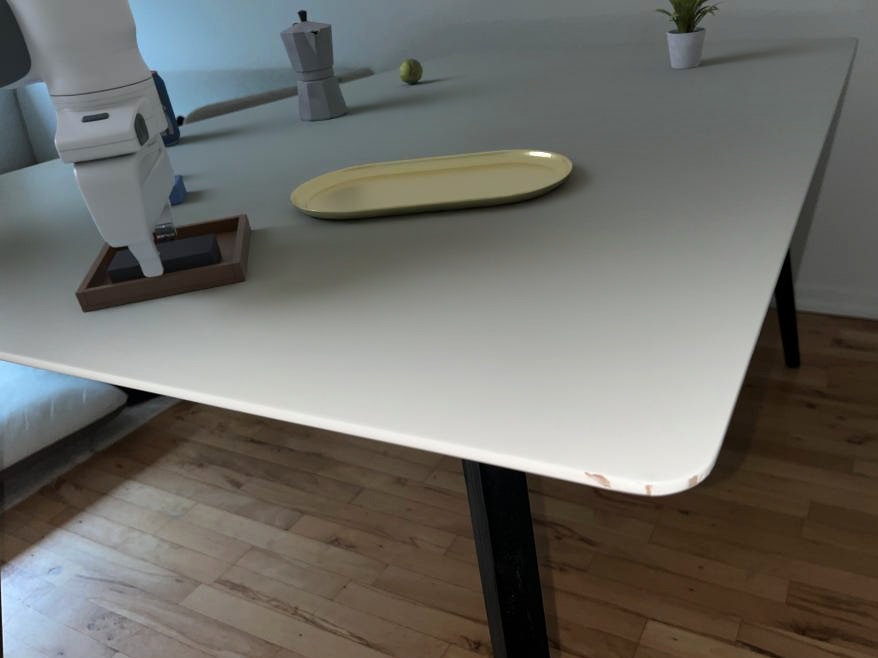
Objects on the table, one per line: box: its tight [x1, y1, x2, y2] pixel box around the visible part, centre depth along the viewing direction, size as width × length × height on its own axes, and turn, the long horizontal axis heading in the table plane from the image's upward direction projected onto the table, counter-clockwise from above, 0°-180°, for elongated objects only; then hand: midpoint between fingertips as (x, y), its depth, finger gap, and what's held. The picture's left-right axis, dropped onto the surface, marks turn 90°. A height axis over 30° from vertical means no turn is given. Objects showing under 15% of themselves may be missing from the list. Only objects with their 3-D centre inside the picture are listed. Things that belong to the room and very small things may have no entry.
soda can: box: [150, 70, 181, 148], centre depth 130 cm, size 7×7×12 cm
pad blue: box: [169, 174, 187, 206], centre depth 101 cm, size 10×6×2 cm, turn 103°
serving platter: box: [289, 148, 574, 220], centre depth 92 cm, size 19×35×2 cm, turn 88°
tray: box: [74, 213, 252, 313], centre depth 79 cm, size 16×16×2 cm
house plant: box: [652, 0, 724, 70], centre depth 135 cm, size 14×14×16 cm
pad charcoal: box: [107, 234, 221, 284], centre depth 76 cm, size 10×6×2 cm, turn 103°
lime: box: [398, 58, 424, 85], centre depth 155 cm, size 4×5×5 cm
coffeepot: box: [279, 9, 348, 122], centre depth 135 cm, size 15×9×18 cm, turn 26°
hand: (162, 256), depth 75 cm, fingers open, 8 cm apart
